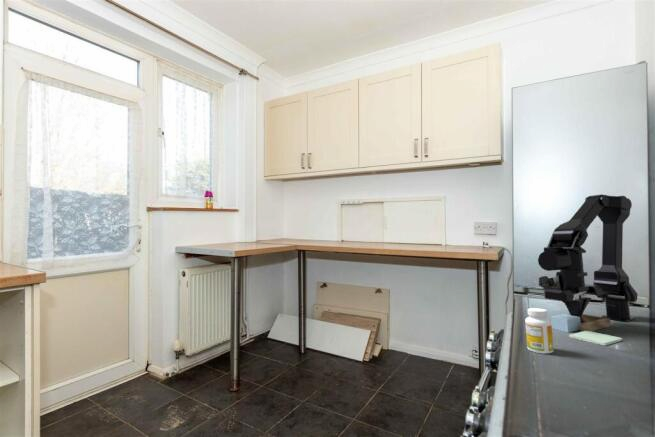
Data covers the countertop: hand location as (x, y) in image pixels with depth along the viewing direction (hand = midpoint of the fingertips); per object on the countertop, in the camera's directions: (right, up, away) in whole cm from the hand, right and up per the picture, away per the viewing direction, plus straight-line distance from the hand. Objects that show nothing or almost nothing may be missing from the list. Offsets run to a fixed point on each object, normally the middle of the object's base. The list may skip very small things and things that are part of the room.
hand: (575, 321), depth 95 cm
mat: (-3, -1, -11) cm, 11 cm away
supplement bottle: (-22, -2, -18) cm, 28 cm away
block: (-4, -2, -1) cm, 5 cm away
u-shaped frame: (+2, -2, +1) cm, 3 cm away
